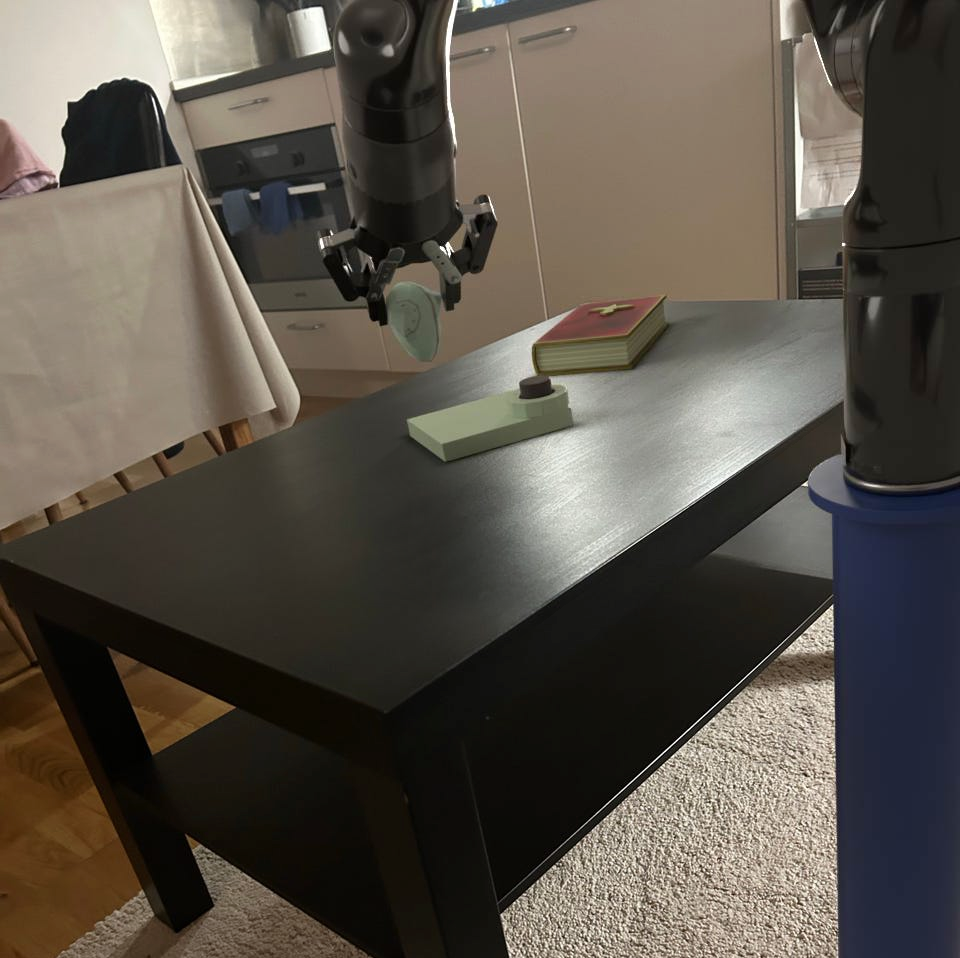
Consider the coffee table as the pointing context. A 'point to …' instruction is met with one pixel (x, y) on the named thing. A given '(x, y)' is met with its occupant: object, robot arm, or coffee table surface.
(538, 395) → the button
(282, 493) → the coffee table surface
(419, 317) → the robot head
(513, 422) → the pale green flat block
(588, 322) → the hardcover book
